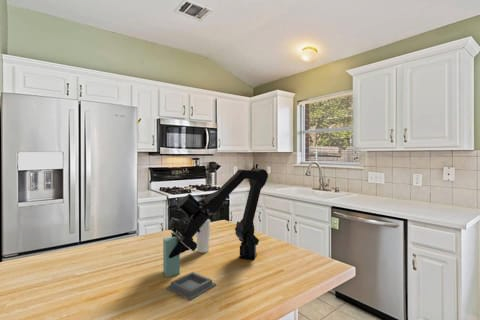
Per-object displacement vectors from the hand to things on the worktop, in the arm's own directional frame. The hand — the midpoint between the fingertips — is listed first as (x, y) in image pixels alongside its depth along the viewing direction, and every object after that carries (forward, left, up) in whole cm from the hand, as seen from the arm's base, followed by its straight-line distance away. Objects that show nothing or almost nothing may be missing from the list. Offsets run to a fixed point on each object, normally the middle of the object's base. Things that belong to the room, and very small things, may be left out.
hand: (167, 255), depth 102 cm
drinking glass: (-4, -25, -7) cm, 26 cm away
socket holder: (-13, +7, -7) cm, 16 cm away
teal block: (-1, -1, -7) cm, 7 cm away
